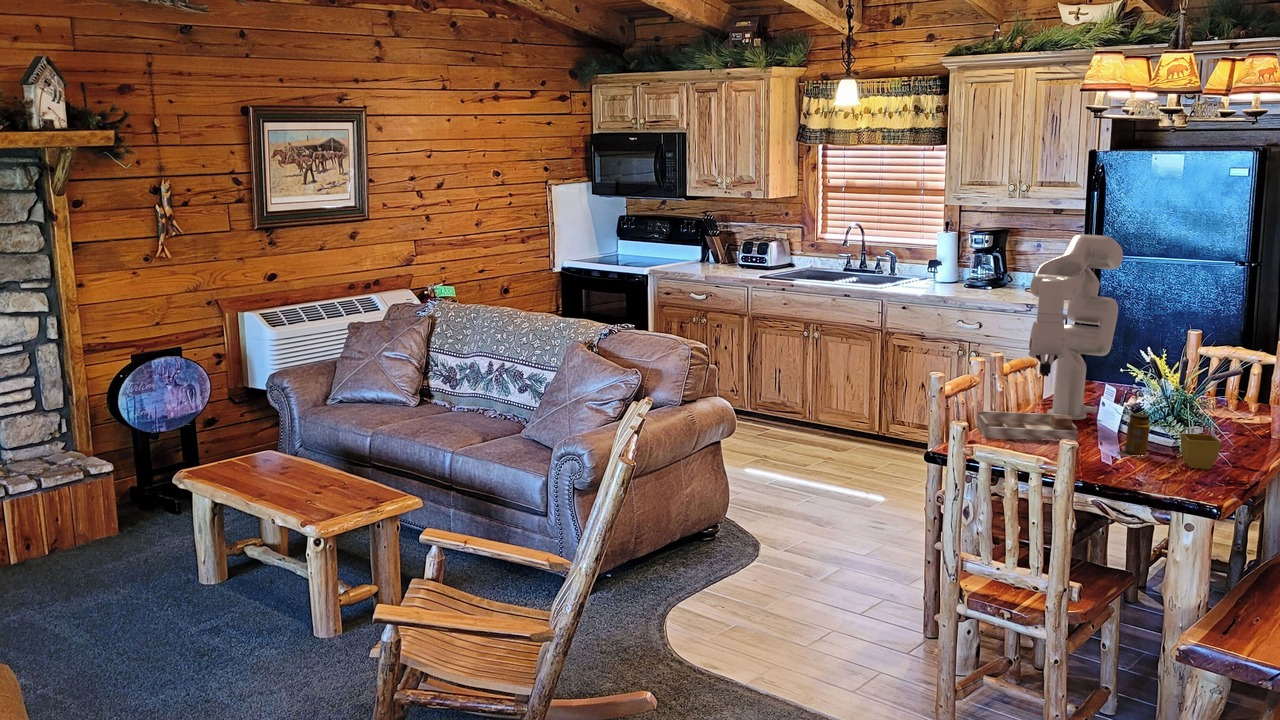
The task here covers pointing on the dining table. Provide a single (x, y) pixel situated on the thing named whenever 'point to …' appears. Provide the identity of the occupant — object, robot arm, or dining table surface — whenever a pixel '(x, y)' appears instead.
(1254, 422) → the dining table surface
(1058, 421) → the walnut block
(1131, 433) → the condiment
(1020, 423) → the compartment box
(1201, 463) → the flower pot
